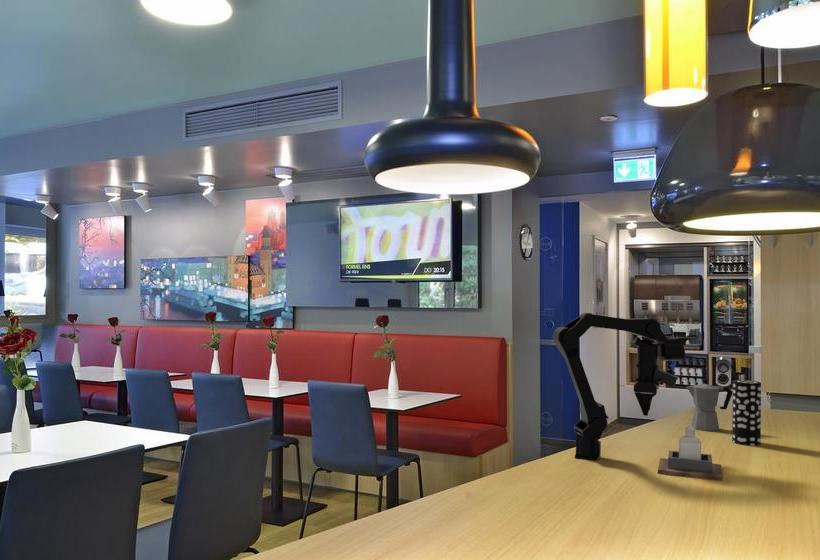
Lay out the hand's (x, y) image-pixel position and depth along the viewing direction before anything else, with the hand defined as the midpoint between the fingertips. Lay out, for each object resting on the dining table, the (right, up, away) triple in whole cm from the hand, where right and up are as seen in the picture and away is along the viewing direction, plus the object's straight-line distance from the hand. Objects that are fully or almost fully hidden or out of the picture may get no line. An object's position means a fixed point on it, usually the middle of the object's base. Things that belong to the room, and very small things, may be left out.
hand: (646, 413), depth 200 cm
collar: (+7, -13, -15) cm, 21 cm away
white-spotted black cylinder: (+40, -14, +21) cm, 47 cm away
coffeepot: (+37, -14, +43) cm, 58 cm away
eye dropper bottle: (+7, -12, -15) cm, 20 cm away
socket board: (+7, -13, -15) cm, 21 cm away
